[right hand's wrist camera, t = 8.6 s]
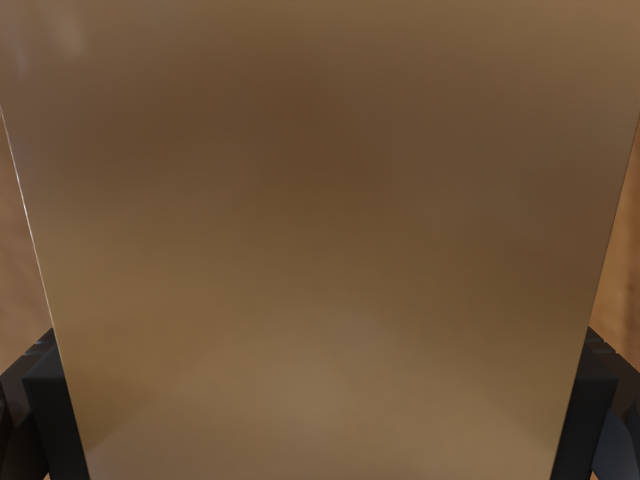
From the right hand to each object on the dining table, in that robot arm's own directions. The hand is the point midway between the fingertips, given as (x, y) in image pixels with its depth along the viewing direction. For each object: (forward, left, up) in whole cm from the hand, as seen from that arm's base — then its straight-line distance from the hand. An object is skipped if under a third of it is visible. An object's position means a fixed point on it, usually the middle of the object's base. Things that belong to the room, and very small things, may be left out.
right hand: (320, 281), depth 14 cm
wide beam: (+2, -19, -1) cm, 19 cm away
